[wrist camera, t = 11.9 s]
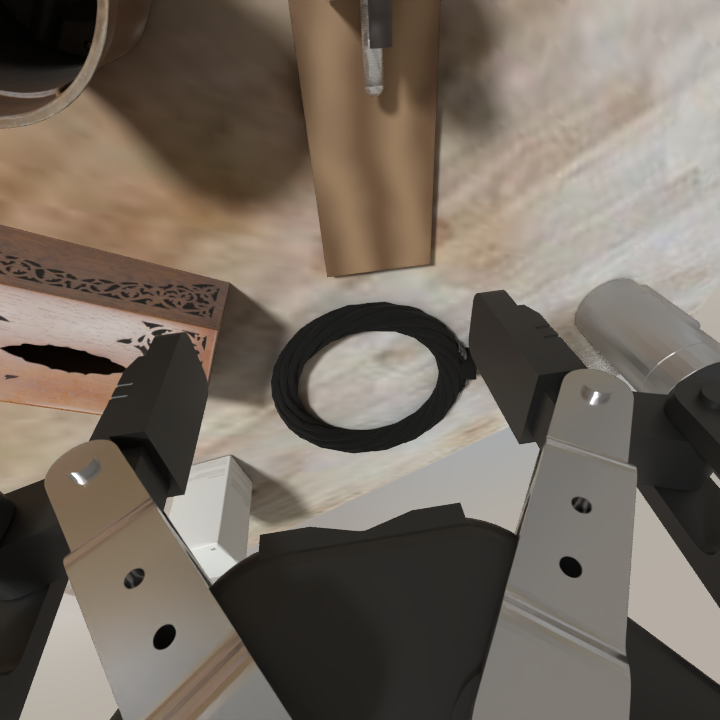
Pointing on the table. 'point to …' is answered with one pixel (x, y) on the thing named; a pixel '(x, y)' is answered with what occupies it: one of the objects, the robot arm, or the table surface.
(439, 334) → the cable lock
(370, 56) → the end link
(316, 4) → the board
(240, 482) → the supplement box
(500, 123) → the table surface
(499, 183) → the table surface
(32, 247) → the tissue box cover
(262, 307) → the table surface
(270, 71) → the table surface
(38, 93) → the plant pot
